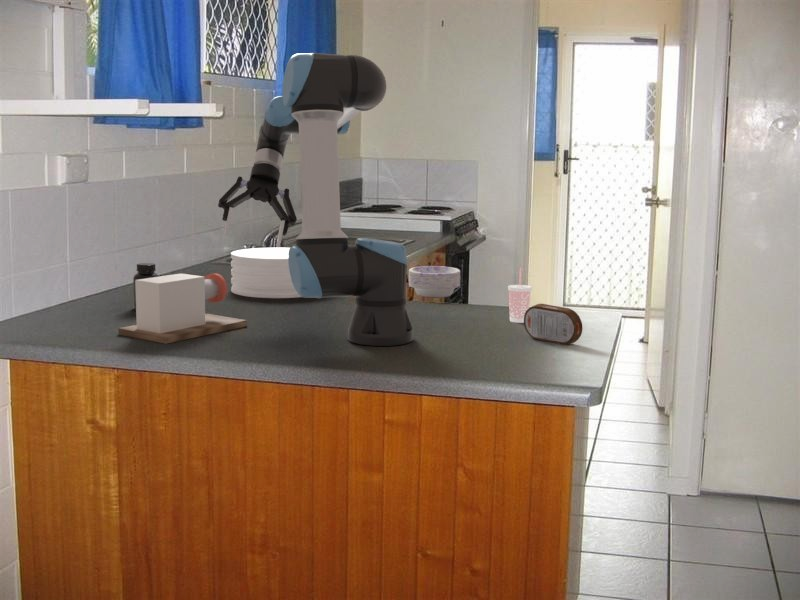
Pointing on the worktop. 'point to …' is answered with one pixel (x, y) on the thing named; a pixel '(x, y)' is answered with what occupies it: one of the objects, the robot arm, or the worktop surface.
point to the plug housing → (170, 302)
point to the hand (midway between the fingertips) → (252, 238)
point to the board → (186, 330)
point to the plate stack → (262, 273)
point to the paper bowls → (434, 280)
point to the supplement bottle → (143, 276)
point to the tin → (553, 324)
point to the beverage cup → (518, 301)
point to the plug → (215, 288)
